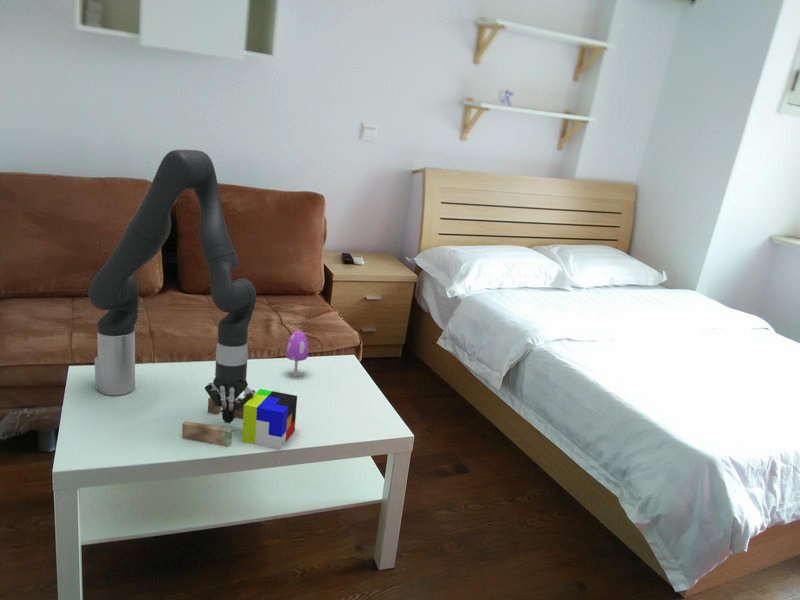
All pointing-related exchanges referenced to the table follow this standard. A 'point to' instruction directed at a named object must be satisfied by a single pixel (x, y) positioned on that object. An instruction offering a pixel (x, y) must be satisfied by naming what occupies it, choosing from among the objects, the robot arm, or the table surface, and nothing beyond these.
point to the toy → (297, 348)
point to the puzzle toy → (269, 418)
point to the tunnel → (210, 428)
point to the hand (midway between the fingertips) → (228, 421)
